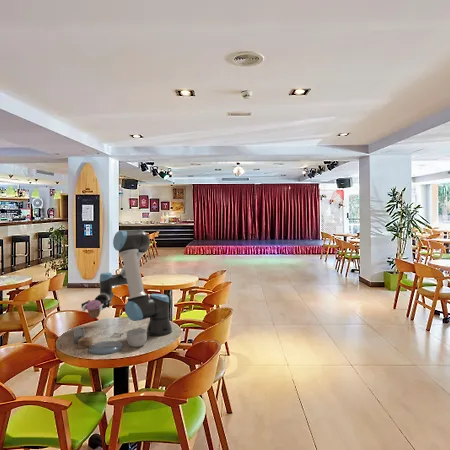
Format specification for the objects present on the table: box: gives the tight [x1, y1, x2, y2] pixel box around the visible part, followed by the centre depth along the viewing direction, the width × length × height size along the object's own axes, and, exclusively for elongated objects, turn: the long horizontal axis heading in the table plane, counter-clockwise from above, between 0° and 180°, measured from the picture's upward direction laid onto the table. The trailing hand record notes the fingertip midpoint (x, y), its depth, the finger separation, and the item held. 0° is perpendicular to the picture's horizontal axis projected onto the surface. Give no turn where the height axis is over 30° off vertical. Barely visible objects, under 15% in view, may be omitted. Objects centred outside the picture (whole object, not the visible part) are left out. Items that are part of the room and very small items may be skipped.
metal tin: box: [73, 326, 86, 345], centre depth 206 cm, size 6×6×8 cm
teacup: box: [125, 327, 148, 348], centre depth 202 cm, size 14×11×8 cm
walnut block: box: [77, 336, 94, 349], centre depth 200 cm, size 6×6×4 cm
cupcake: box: [86, 299, 102, 319], centre depth 214 cm, size 9×9×10 cm
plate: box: [88, 340, 123, 356], centre depth 196 cm, size 17×17×1 cm
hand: (91, 308), depth 209 cm, fingers closed on cupcake, 9 cm apart
